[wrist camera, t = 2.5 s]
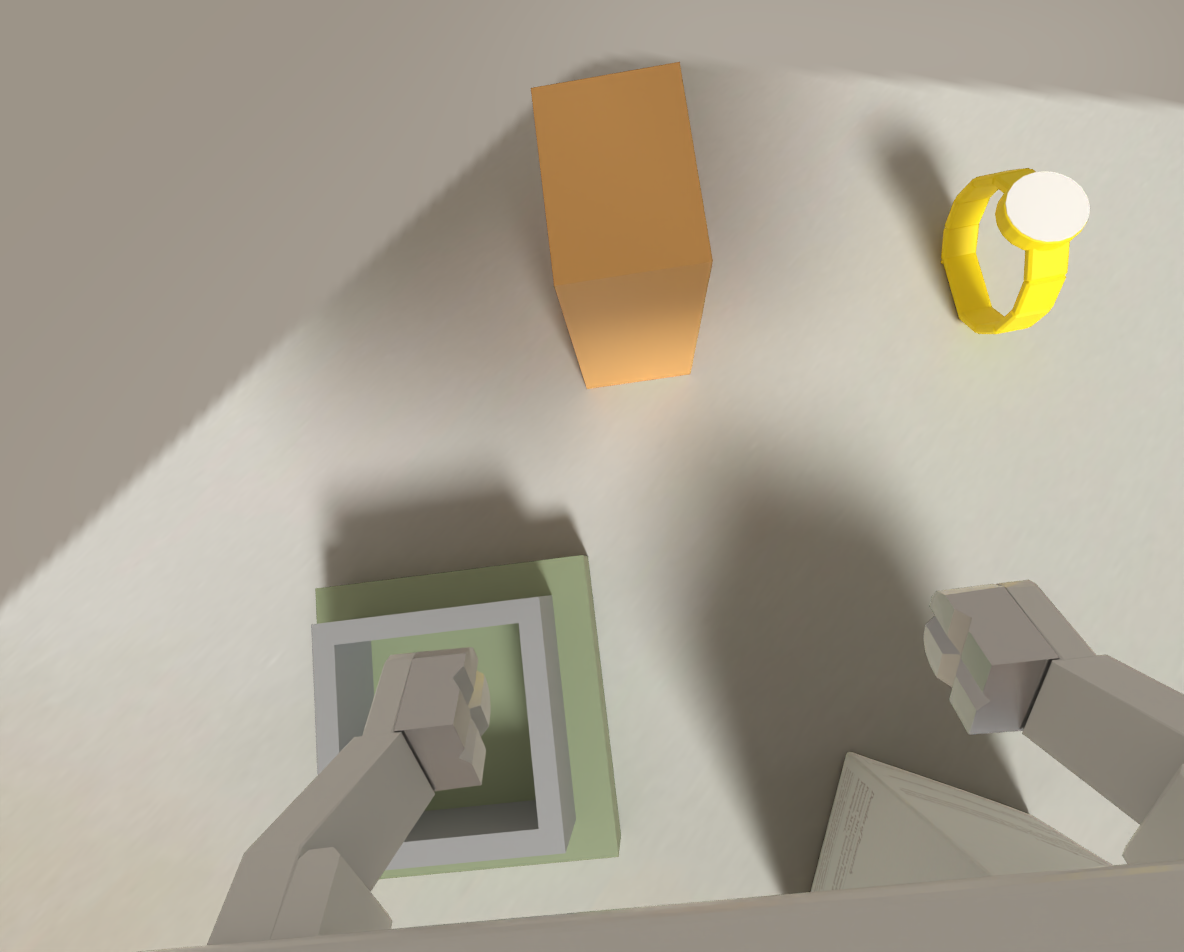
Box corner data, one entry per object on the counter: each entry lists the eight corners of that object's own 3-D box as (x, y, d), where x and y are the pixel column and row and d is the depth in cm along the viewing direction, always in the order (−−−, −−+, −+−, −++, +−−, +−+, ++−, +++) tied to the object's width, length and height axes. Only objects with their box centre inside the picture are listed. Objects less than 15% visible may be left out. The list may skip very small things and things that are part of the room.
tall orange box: (690, 374, 28) (712, 261, 18) (586, 388, 28) (554, 286, 18) (669, 237, 29) (679, 61, 19) (570, 253, 29) (531, 88, 20)
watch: (913, 237, 28) (977, 137, 23) (976, 224, 28) (1057, 120, 23) (953, 359, 27) (1034, 285, 21) (1020, 346, 27) (1120, 268, 21)
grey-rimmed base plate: (588, 556, 27) (574, 551, 22) (621, 835, 25) (614, 896, 20) (339, 588, 28) (272, 589, 23) (352, 860, 26) (282, 926, 21)
